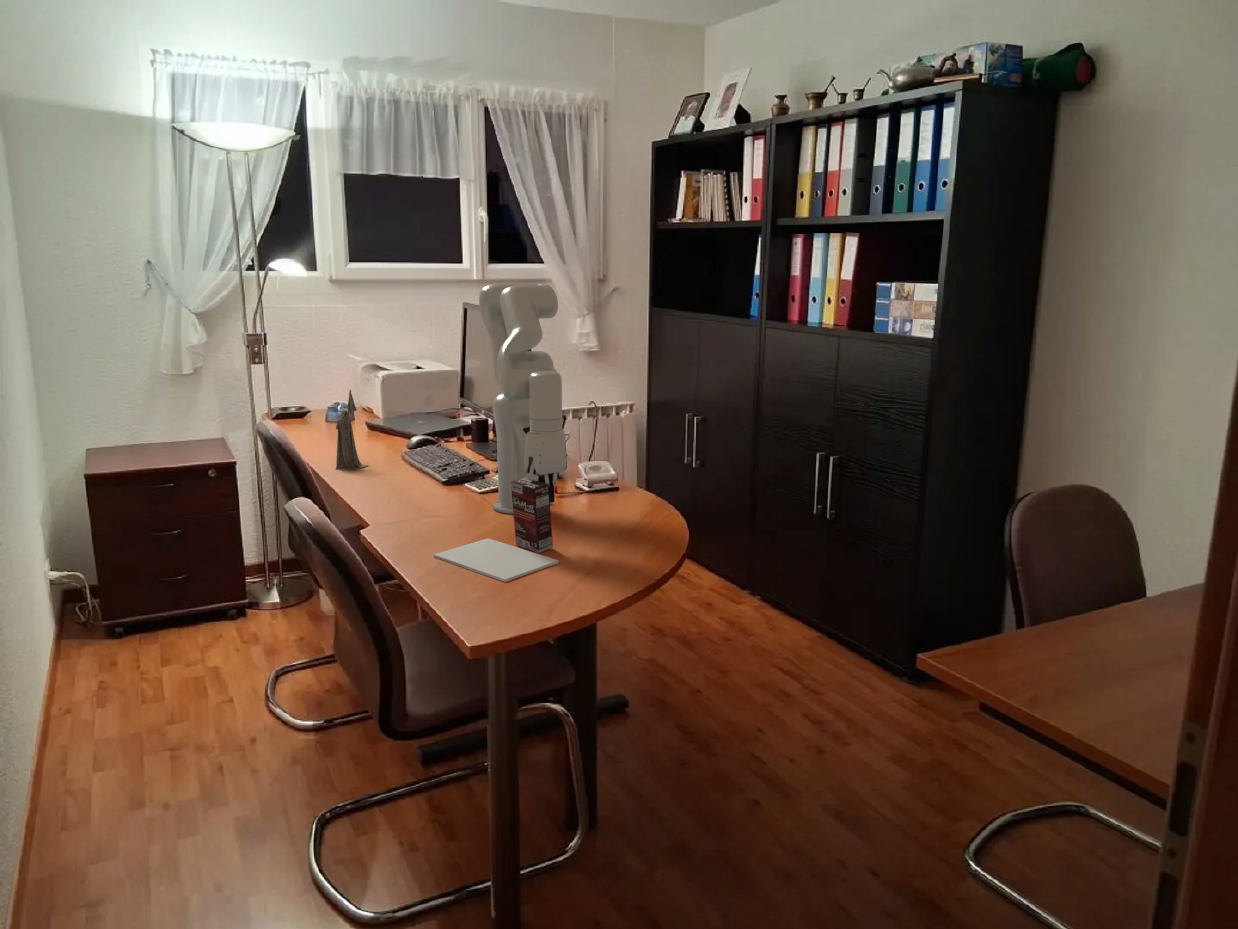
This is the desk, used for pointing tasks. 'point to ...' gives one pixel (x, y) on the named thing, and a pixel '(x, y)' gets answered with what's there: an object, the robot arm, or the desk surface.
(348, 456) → the wizard figurine
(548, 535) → the supplement box
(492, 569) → the mat
